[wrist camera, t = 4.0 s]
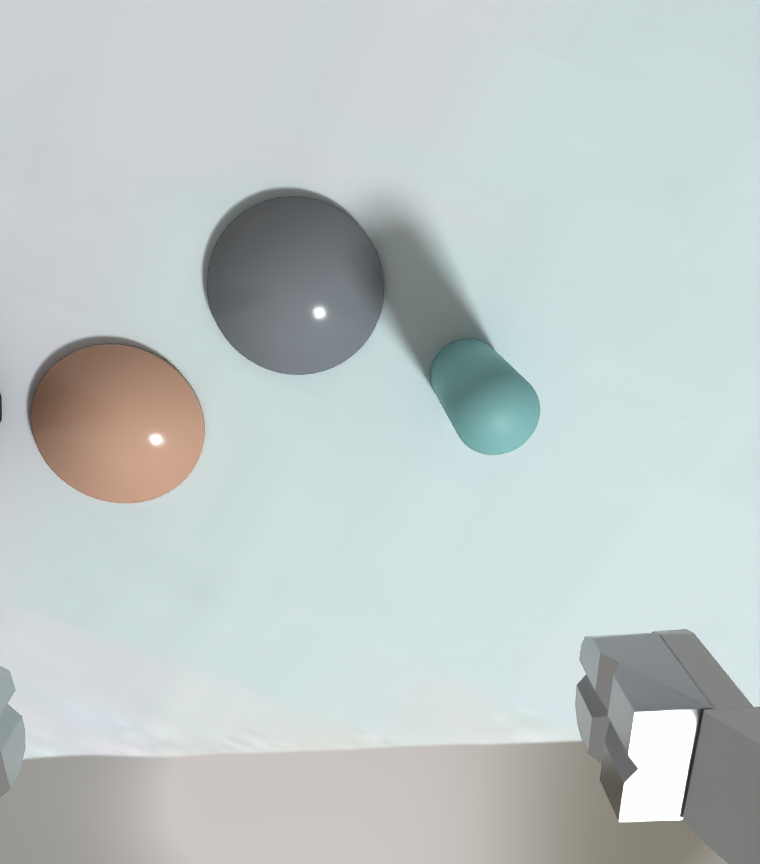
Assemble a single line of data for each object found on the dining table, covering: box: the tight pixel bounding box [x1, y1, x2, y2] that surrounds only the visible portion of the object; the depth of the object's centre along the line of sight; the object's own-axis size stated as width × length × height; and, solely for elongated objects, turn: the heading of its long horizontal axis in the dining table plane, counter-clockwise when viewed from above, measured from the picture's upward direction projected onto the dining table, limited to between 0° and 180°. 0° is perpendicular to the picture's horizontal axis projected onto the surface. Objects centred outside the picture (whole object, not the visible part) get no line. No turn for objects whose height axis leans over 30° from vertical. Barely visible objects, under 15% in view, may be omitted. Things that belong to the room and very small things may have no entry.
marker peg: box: [431, 339, 540, 455], centre depth 34 cm, size 4×4×7 cm
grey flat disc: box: [207, 197, 384, 375], centre depth 35 cm, size 9×9×1 cm
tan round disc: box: [31, 344, 205, 503], centre depth 37 cm, size 9×9×1 cm
